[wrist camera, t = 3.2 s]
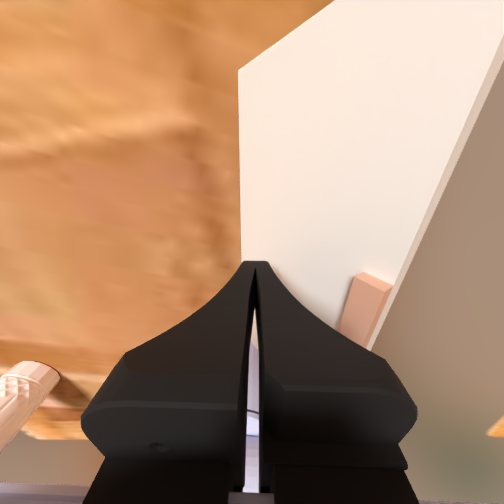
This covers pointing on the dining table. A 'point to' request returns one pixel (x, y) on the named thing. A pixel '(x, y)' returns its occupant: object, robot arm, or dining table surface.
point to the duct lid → (359, 145)
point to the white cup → (23, 395)
